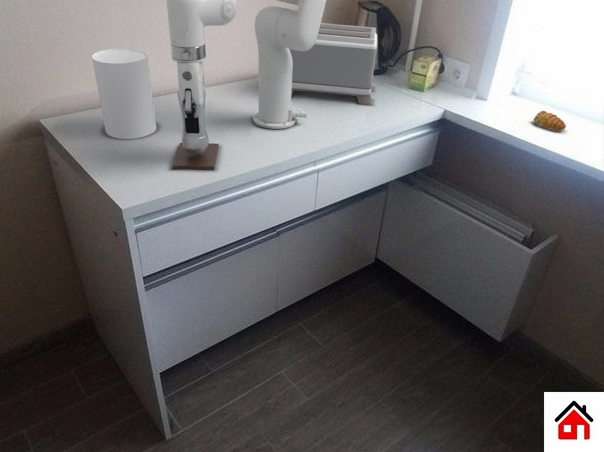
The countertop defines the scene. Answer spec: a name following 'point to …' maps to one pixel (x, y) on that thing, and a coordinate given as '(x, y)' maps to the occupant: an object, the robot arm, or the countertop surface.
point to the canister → (125, 92)
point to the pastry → (549, 121)
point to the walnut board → (196, 158)
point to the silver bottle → (191, 140)
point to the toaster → (337, 62)
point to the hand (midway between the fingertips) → (194, 127)
